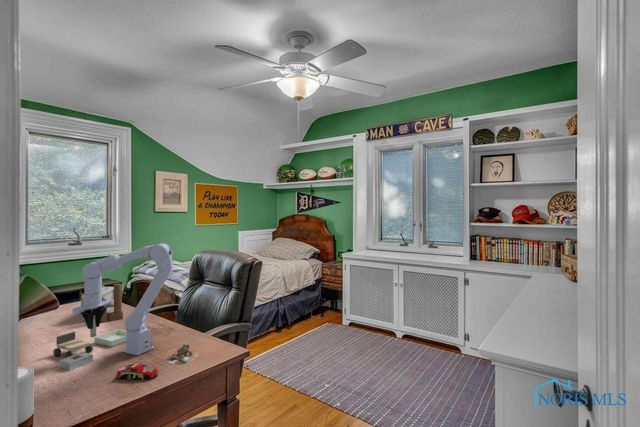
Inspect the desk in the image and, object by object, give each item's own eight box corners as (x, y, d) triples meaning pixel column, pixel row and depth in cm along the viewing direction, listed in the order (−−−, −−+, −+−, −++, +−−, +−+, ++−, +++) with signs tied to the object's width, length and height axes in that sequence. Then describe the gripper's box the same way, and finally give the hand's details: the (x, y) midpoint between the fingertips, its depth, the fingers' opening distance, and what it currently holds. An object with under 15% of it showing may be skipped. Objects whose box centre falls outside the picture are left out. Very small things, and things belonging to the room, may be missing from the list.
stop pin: (97, 335, 136) (97, 314, 136) (92, 337, 135) (92, 316, 134) (94, 334, 137) (94, 314, 137) (89, 336, 135) (89, 315, 135)
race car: (161, 373, 121) (161, 362, 120) (153, 381, 115) (153, 369, 115) (123, 372, 121) (123, 361, 121) (114, 380, 115) (114, 368, 115)
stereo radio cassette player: (98, 310, 195) (98, 274, 194) (114, 309, 196) (114, 274, 196) (80, 322, 174) (79, 282, 174) (98, 321, 175) (97, 281, 175)
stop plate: (92, 361, 129) (92, 354, 129) (69, 370, 122) (69, 363, 122) (82, 358, 132) (82, 351, 132) (59, 367, 125) (59, 360, 124)
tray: (135, 338, 152) (135, 332, 152) (111, 347, 142) (111, 341, 142) (118, 334, 157) (118, 328, 157) (94, 343, 147) (94, 337, 147)
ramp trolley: (92, 351, 138) (92, 334, 138) (69, 360, 130) (69, 342, 130) (77, 347, 142) (77, 330, 142) (53, 355, 134) (53, 337, 134)
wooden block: (97, 321, 174) (97, 286, 174) (121, 317, 182) (120, 283, 181) (99, 323, 171) (98, 287, 171) (123, 318, 179) (122, 284, 179)
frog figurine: (173, 351, 139) (173, 342, 139) (202, 352, 138) (202, 343, 138) (158, 364, 128) (158, 354, 128) (189, 365, 127) (189, 355, 127)
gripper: (104, 288, 144) (104, 320, 144) (67, 296, 131) (67, 332, 131) (115, 289, 141) (115, 323, 141) (79, 298, 128) (79, 334, 128)
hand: (93, 327), depth 136 cm, fingers closed on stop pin, 2 cm apart
